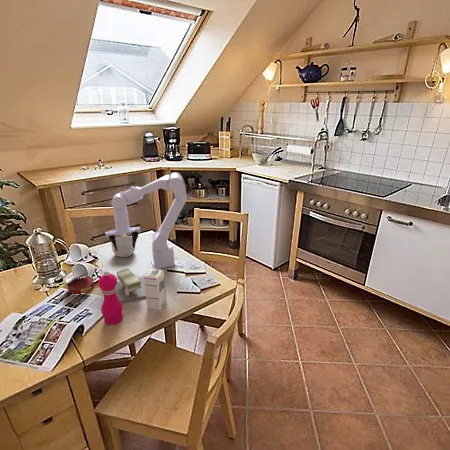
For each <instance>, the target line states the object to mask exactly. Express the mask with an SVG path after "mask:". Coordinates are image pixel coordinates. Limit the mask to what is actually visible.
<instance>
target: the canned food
mask: <svg viewBox="0 0 450 450" xmlns="http://www.w3.org/2000/svg"><path fill="white" fill-rule="evenodd" d="M89 274H90V272H87V273H83V274H80V275H79V277H78V276H76V277H74V278H72V279H70V280H69V281H68V282H66V283H65V284H66V285H67V291H68V293H69V292H70V293H73V294H81V293H86V294H88V293H90V292H91V291H93V290H94V288H95V283H94V277H92V276H89ZM82 276H87V277H85V278H81V279H80V277H82ZM78 278H79V279H78ZM70 293H69V294H70Z"/></svg>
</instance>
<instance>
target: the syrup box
mask: <svg viewBox="0 0 450 450" xmlns="http://www.w3.org/2000/svg"><path fill="white" fill-rule="evenodd" d="M142 277H143V278H144V286H145V294H146V298H145V300H146V308H147V309H151V310H160V311H161V310H162V309H163V307H164V306H165V305H166V302H167V295H166V294H167V291H166V282H165V281H166V280H165V270H164V269H163V268H161V269H155V268H154V267H153V268H152V267H151V268H149V269H148V270H147V271H146V272H145V274H144V275H143V276H142Z"/></svg>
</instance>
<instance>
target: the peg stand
mask: <svg viewBox="0 0 450 450" xmlns="http://www.w3.org/2000/svg"><path fill="white" fill-rule="evenodd" d="M137 278H138V279H139V280H140V282H141V288H139V289H136V290H133V291H131V292H128V290H127V289H126V288H125V287H124V286H123V284H122V283H121V282H120V281H117V284H116V286H117V291H116V295H117V297H118V299H119V300H120V301H121V303H122V304H125V303H130V302H134V301H138V300H142V299H146V294H145V286H144V278H143V276H140V277H137Z"/></svg>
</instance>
